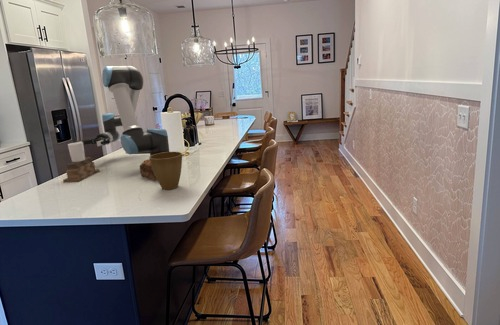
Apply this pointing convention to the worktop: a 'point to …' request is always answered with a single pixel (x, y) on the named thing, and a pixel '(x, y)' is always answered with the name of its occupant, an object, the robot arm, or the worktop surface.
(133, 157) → the worktop surface
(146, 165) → the bread
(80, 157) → the white cup
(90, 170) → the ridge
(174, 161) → the plant pot
